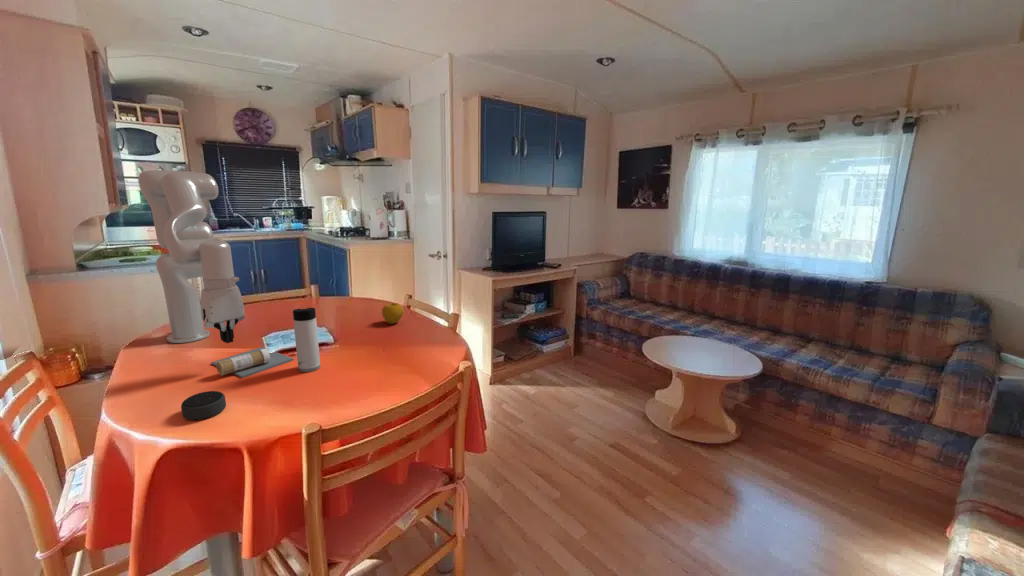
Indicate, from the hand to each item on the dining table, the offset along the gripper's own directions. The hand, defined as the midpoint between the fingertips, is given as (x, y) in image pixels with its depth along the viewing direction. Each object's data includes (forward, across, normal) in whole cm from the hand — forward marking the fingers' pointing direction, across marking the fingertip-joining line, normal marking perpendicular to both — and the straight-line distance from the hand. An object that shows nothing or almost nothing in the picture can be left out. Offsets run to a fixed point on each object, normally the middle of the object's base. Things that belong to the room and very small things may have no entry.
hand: (228, 341), depth 126 cm
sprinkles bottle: (+6, +5, +3) cm, 9 cm away
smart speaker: (+10, +16, +21) cm, 28 cm away
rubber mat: (+9, -6, 0) cm, 11 cm away
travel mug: (+9, -14, +19) cm, 25 cm away
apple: (+9, -60, +7) cm, 62 cm away
